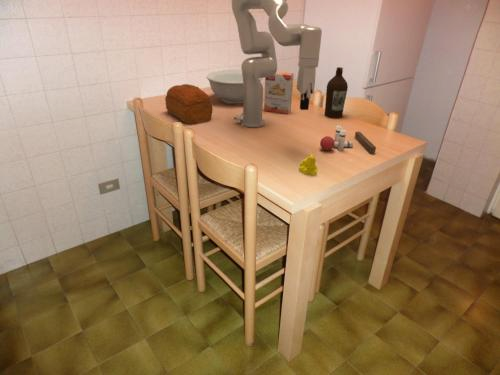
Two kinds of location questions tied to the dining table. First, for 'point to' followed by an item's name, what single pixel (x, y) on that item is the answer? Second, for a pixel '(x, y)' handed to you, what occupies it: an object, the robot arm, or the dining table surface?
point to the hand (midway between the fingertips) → (303, 109)
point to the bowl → (227, 85)
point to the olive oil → (336, 95)
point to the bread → (189, 104)
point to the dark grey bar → (365, 142)
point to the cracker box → (278, 92)
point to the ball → (327, 143)
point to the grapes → (308, 166)
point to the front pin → (345, 144)
